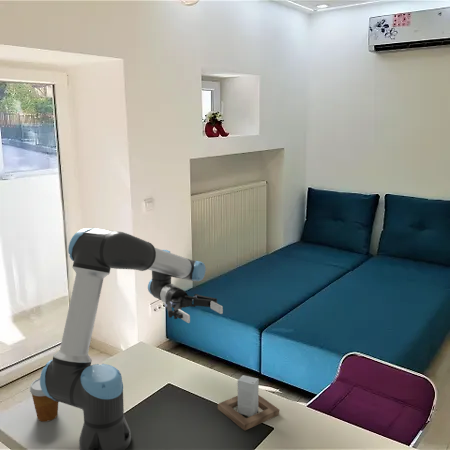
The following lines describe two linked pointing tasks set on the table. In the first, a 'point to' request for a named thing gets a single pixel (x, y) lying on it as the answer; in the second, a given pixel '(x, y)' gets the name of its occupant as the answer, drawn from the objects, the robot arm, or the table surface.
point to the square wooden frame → (249, 422)
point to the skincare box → (248, 395)
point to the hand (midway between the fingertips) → (205, 314)
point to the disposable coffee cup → (43, 403)
